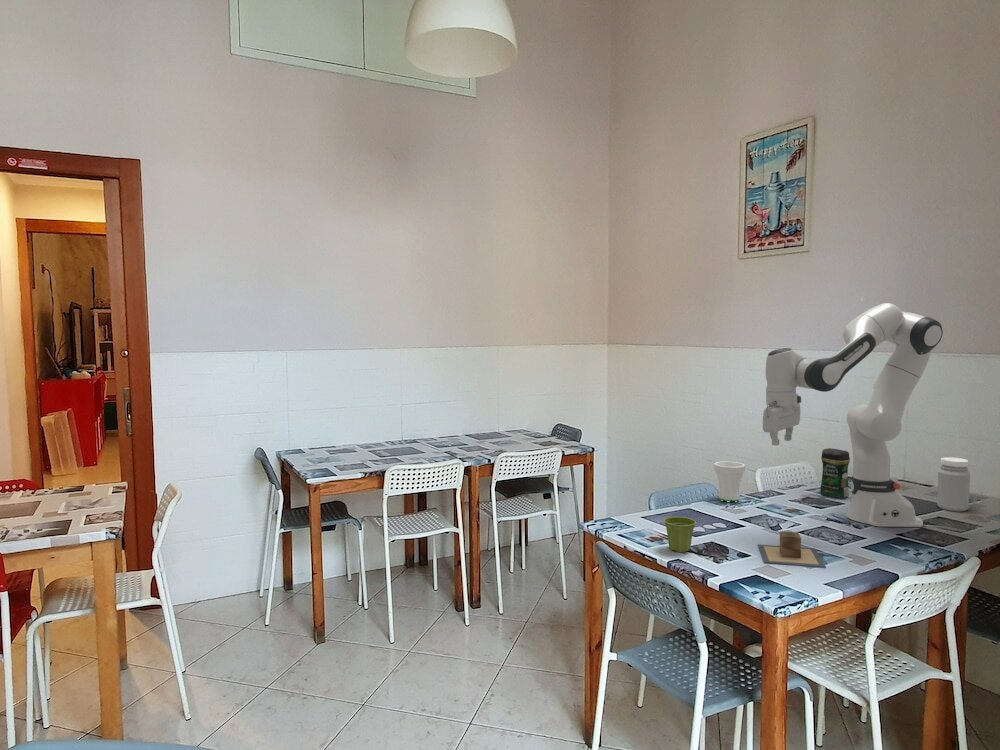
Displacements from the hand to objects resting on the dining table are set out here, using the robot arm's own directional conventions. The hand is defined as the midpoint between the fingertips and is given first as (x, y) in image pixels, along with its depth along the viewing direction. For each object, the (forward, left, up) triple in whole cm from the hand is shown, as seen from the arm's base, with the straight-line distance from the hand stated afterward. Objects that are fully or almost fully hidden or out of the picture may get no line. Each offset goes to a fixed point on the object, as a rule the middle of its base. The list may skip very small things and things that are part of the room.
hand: (781, 442), depth 214 cm
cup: (+13, -38, -30) cm, 50 cm away
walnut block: (0, +23, -29) cm, 37 cm away
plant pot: (+31, +24, -30) cm, 49 cm away
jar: (-64, -44, -30) cm, 83 cm away
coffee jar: (-27, -54, -30) cm, 67 cm away
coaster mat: (0, +23, -29) cm, 37 cm away
